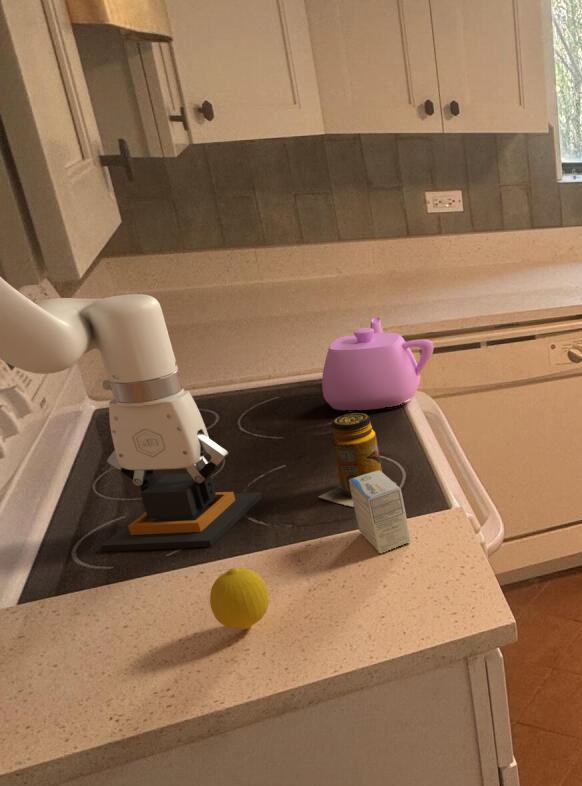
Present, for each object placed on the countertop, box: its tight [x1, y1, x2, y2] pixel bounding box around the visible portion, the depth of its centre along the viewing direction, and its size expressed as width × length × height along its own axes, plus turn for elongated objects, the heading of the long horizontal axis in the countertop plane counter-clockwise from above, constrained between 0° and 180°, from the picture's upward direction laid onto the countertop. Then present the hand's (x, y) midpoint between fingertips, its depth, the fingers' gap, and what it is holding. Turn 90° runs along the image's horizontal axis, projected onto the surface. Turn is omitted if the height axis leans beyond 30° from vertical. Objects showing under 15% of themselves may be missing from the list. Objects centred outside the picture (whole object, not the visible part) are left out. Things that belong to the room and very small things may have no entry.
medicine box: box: [349, 471, 412, 554], centre depth 107 cm, size 8×4×9 cm, turn 43°
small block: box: [140, 472, 216, 519], centre depth 111 cm, size 6×6×4 cm
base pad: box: [100, 491, 262, 552], centre depth 112 cm, size 14×14×2 cm
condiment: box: [317, 412, 397, 508], centre depth 120 cm, size 7×8×12 cm
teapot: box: [321, 316, 435, 411], centre depth 159 cm, size 23×21×15 cm
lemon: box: [209, 567, 270, 630], centre depth 89 cm, size 6×6×8 cm
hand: (182, 503), depth 112 cm, fingers closed on small block, 5 cm apart
